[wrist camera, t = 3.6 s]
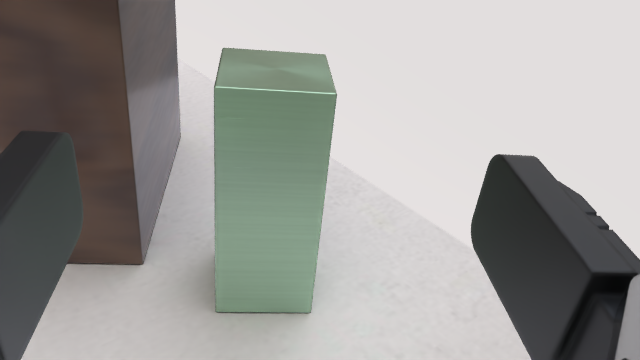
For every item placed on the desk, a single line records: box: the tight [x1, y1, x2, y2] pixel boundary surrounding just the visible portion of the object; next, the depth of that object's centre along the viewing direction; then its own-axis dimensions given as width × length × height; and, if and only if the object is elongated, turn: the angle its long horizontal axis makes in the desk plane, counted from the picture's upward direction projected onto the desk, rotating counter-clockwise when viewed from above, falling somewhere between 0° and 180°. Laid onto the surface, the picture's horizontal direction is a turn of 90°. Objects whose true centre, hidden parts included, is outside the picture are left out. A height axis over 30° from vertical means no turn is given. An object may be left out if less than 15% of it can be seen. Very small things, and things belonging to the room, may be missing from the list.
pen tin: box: [214, 48, 337, 313], centre depth 24 cm, size 4×4×11 cm
